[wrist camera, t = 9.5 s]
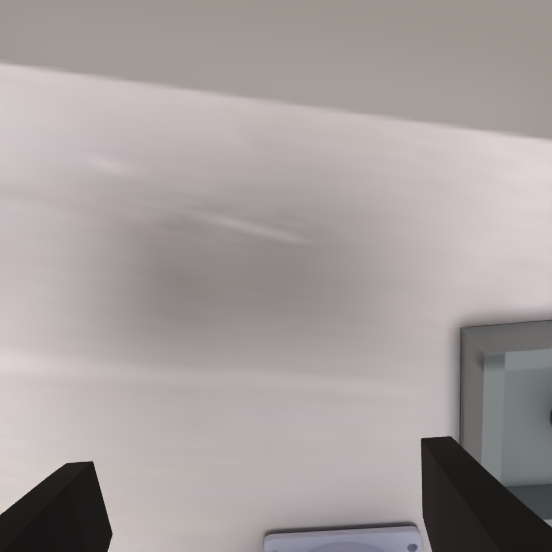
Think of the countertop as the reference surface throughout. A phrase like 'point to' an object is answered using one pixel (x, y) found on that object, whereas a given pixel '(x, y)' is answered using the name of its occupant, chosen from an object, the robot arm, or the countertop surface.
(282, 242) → the countertop surface
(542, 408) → the tray
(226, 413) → the countertop surface
